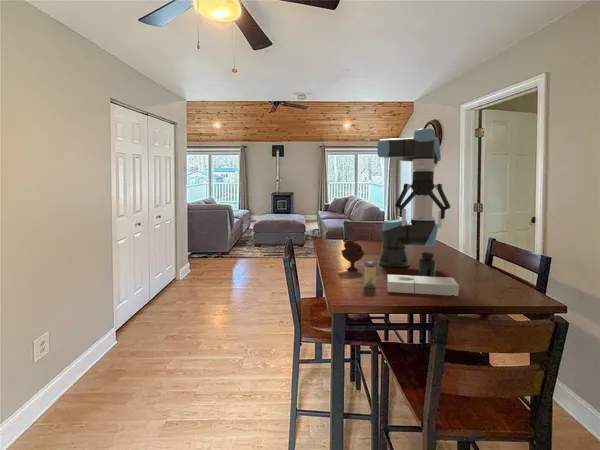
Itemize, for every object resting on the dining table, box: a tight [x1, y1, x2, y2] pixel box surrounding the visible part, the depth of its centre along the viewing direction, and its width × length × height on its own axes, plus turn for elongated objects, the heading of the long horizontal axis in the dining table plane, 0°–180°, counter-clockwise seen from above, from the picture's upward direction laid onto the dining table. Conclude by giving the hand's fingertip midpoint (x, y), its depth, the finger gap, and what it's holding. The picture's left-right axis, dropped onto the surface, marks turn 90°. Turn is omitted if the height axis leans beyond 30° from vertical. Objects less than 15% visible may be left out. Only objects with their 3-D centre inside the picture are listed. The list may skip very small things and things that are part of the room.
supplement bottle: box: [418, 251, 437, 277], centre depth 164 cm, size 7×7×12 cm
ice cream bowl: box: [340, 239, 365, 272], centre depth 183 cm, size 11×11×15 cm
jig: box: [386, 274, 460, 297], centre depth 150 cm, size 12×26×4 cm, turn 78°
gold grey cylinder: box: [364, 260, 377, 289], centre depth 154 cm, size 5×5×10 cm
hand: (421, 226), depth 145 cm, fingers open, 13 cm apart
